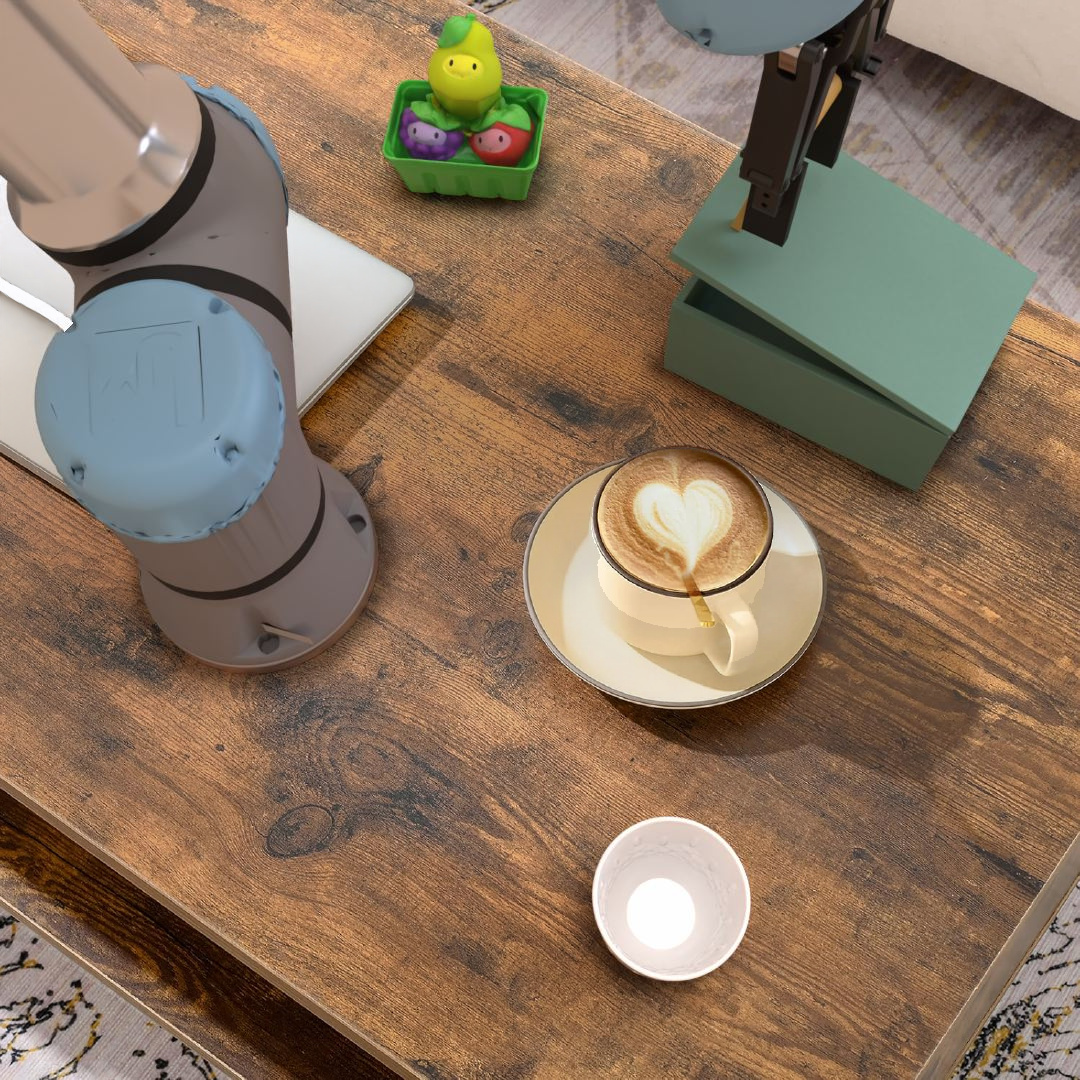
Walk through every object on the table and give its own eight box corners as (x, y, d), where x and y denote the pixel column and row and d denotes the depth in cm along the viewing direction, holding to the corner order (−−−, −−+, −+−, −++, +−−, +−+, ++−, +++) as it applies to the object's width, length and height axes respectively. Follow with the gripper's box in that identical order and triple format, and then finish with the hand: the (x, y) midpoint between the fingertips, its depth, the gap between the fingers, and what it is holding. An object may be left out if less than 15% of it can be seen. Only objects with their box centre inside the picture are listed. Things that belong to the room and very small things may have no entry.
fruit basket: (390, 204, 88) (364, 93, 77) (410, 114, 91) (388, -4, 81) (538, 217, 87) (533, 106, 77) (553, 125, 90) (550, 7, 80)
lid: (667, 258, 71) (714, 165, 61) (766, 113, 75) (824, 6, 66) (948, 437, 70) (1038, 370, 61) (1031, 280, 74) (1127, 196, 65)
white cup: (562, 902, 67) (560, 881, 58) (667, 818, 69) (680, 785, 60) (649, 1018, 65) (661, 1015, 56) (755, 928, 67) (783, 911, 57)
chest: (662, 367, 81) (670, 304, 74) (749, 235, 86) (764, 164, 79) (916, 492, 77) (949, 438, 70) (993, 346, 81) (1032, 281, 74)
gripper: (873, 5, 45) (774, 336, 66) (1055, -272, 51) (911, 112, 72) (701, -63, 46) (659, 281, 68) (897, -324, 53) (802, 67, 74)
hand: (789, 193), depth 70 cm, fingers closed on lid, 6 cm apart
